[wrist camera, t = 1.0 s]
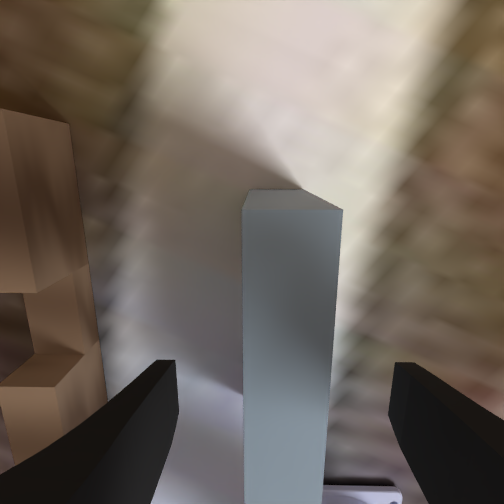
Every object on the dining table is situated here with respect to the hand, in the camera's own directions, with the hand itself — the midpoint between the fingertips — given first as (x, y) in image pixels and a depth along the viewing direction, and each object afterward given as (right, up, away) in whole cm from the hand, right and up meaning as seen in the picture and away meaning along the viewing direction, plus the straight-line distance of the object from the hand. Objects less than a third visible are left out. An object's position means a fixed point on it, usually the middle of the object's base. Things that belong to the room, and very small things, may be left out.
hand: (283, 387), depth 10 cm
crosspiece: (0, +2, +7) cm, 7 cm away
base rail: (-11, +2, +7) cm, 13 cm away
